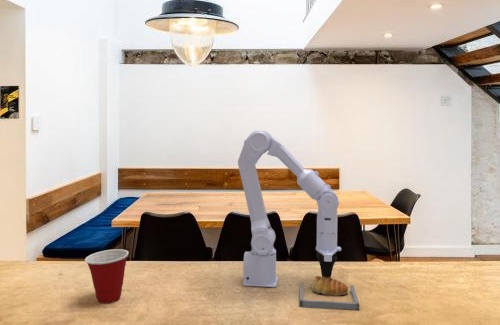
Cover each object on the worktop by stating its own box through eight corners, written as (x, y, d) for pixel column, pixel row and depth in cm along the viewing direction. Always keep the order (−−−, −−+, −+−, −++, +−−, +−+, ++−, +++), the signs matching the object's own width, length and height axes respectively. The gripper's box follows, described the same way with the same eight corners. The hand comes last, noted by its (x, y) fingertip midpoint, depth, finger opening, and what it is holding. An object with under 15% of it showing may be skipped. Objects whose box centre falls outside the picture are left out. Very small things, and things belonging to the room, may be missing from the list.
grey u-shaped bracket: (299, 306, 104) (299, 300, 104) (300, 287, 117) (300, 282, 117) (359, 310, 102) (359, 304, 102) (353, 290, 115) (353, 285, 115)
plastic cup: (85, 294, 112) (84, 250, 111) (126, 289, 116) (126, 246, 115) (86, 310, 102) (85, 262, 101) (132, 303, 106) (131, 257, 105)
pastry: (349, 290, 116) (349, 276, 115) (345, 299, 109) (345, 285, 109) (316, 285, 119) (316, 272, 119) (310, 294, 113) (310, 280, 113)
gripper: (343, 238, 110) (342, 288, 111) (339, 226, 124) (338, 271, 125) (316, 237, 111) (316, 287, 112) (315, 225, 125) (314, 270, 126)
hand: (326, 278), depth 119 cm, fingers closed
